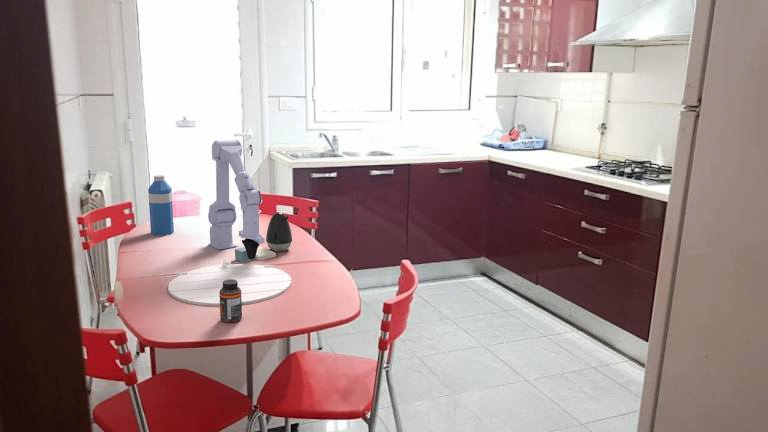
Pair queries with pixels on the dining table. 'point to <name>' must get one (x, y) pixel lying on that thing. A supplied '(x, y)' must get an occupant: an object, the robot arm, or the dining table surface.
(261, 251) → the white slotted box
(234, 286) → the supplement bottle
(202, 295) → the lazy susan
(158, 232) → the water bottle
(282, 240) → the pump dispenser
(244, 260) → the pale blue cube
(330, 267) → the dining table surface
